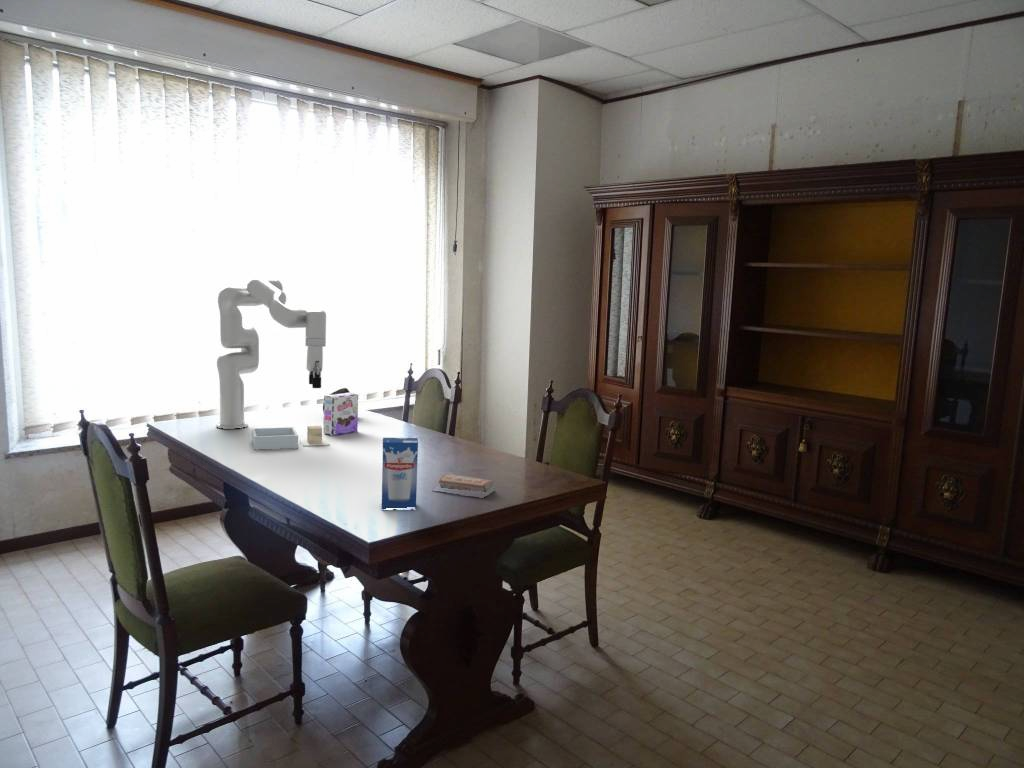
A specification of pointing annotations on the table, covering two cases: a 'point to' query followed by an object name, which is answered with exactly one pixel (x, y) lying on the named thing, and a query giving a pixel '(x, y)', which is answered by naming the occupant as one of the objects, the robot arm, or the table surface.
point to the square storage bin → (274, 438)
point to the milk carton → (399, 472)
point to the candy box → (340, 413)
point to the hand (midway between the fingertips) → (314, 386)
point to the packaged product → (464, 483)
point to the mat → (305, 443)
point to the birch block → (314, 434)
